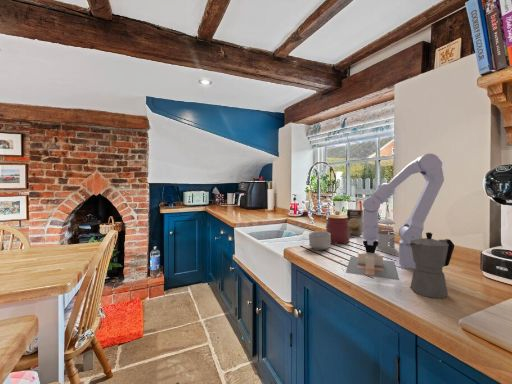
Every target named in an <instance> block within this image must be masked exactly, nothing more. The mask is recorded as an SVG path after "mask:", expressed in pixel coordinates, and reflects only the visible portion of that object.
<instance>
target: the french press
mask: <svg viewBox="0 0 512 384" xmlns="http://www.w3.org/2000/svg"><path fill="white" fill-rule="evenodd" d="M388 202H389V199H387V200H386V201H385V202H384V203H388ZM378 224H381V225H386V227H387V228H378V237H379V239H378V240H377V241H378V245H377V247H376V249H375V250H376V251H377V250H380V251H383V252H397V251H398V250H397V249H396V244H395V243H396V240H395V239H396V238H395V236H396V234H395V233H394V232H395V230H394V227H393V225H395V224H396V222H395V221H394V220H391V219H389V218H383V219H378ZM391 228H392V229H391Z"/></svg>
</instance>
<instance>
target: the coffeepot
mask: <svg viewBox="0 0 512 384" xmlns="http://www.w3.org/2000/svg"><path fill="white" fill-rule="evenodd" d="M425 235H426V237H425V238H423V237H422V239H415V240H411V243H410V244H409V246H411V247H412V254H413V260H414V262H415V263H416V268H415V269H413V272H412V279H411V282H410V289H411V291H412V292H414V293H416V294H417V295H420V296H423V297H426V298H432V299H444V298H446V297H447V296H448V295H449V293H448V288H447V283H446V282H447V281H446V278H445V277H446V276H445V273H444V272H443V268H444V267H448V266H449V265H450V262H451V259H452V256H453V252H454V249H455V244H454V243H453V241H452V240H451V239H448V238H447V239H438V240H437V239H435V238H432V236H433V233H432V232H430V231H429V232H425Z"/></svg>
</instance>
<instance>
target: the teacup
mask: <svg viewBox="0 0 512 384" xmlns="http://www.w3.org/2000/svg"><path fill="white" fill-rule="evenodd" d="M330 235H331V234H330V233H328V232H326V231H319V230H318V231H316V230H315V231H313V232H312V231H311V232H308V240H309V243H308V244H309V246H310V247H311V248H312V249H313V250H315V249H316V250H317V251H326V250H327V249H328V248H330V247H331V237H330ZM316 250H315V251H316Z"/></svg>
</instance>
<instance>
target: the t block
mask: <svg viewBox="0 0 512 384" xmlns="http://www.w3.org/2000/svg"><path fill="white" fill-rule="evenodd" d="M357 257H358V263H361V264H366V269H373V270H374V265H378V266H383V260H384V254H383V253H377V252H375V253H367V252H366V251H358V253H357Z"/></svg>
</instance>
